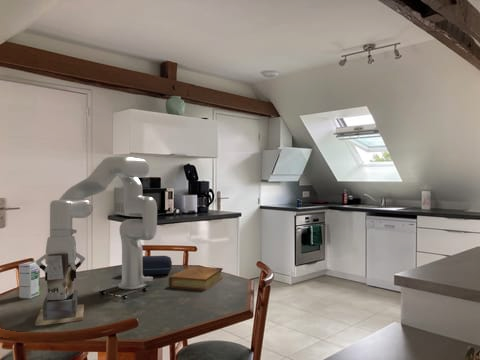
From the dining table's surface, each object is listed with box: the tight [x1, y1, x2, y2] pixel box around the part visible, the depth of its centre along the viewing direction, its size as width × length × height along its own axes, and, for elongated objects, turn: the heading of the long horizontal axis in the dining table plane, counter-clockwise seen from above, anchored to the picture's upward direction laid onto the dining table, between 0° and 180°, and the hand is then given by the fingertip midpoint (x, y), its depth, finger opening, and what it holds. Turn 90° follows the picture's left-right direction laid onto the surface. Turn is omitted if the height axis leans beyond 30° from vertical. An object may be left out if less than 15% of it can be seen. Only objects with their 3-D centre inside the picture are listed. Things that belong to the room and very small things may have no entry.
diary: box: [168, 265, 224, 291], centre depth 185 cm, size 23×19×6 cm
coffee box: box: [46, 254, 75, 300], centre depth 139 cm, size 9×6×16 cm
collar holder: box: [34, 289, 85, 327], centre depth 139 cm, size 15×15×7 cm
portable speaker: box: [143, 255, 173, 276], centre depth 201 cm, size 25×10×10 cm, turn 96°
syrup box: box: [18, 261, 41, 299], centre depth 163 cm, size 6×6×14 cm
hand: (60, 281), depth 139 cm, fingers closed on coffee box, 7 cm apart
